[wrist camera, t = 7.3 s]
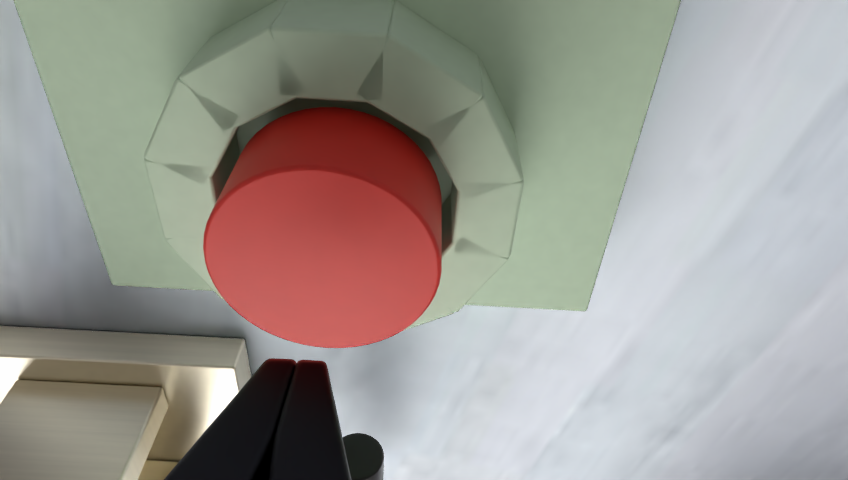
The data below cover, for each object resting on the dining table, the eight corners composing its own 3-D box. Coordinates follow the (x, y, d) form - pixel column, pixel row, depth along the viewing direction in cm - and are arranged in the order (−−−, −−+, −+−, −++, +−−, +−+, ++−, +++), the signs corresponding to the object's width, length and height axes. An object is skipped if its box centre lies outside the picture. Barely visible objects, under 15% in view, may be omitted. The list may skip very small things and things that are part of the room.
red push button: (449, 112, 11) (451, 174, 9) (434, 282, 13) (434, 355, 12) (220, 98, 11) (180, 158, 9) (247, 272, 13) (220, 343, 12)
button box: (660, -41, 12) (725, 19, 9) (575, 268, 17) (601, 367, 14) (41, -81, 12) (-80, -33, 9) (137, 244, 17) (77, 339, 14)
